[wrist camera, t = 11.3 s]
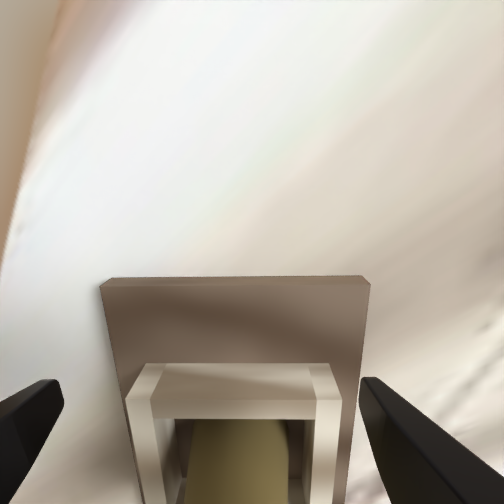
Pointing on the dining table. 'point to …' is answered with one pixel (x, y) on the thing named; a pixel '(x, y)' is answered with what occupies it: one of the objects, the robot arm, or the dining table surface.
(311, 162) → the dining table surface
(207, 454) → the olive green rounded peg
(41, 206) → the dining table surface
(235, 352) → the socket board
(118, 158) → the dining table surface
